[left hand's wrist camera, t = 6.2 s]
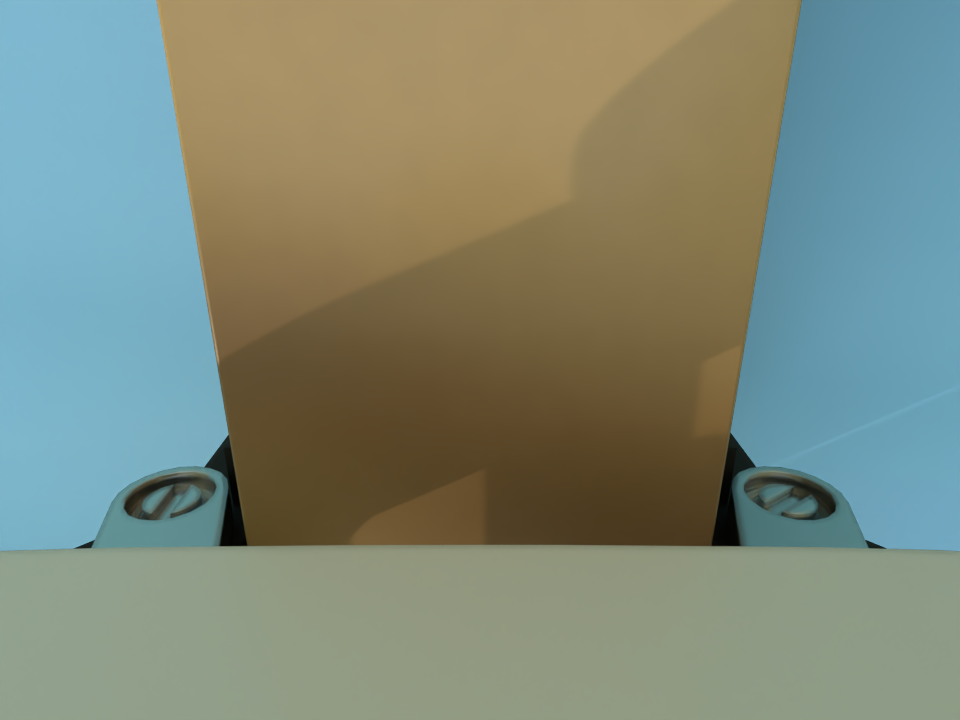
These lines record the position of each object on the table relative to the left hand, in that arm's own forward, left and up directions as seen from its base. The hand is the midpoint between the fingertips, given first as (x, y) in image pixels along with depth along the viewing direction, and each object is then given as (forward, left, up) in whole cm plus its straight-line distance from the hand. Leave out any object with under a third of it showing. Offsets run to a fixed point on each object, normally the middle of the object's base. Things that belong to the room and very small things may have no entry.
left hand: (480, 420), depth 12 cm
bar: (+24, -5, -2) cm, 24 cm away
